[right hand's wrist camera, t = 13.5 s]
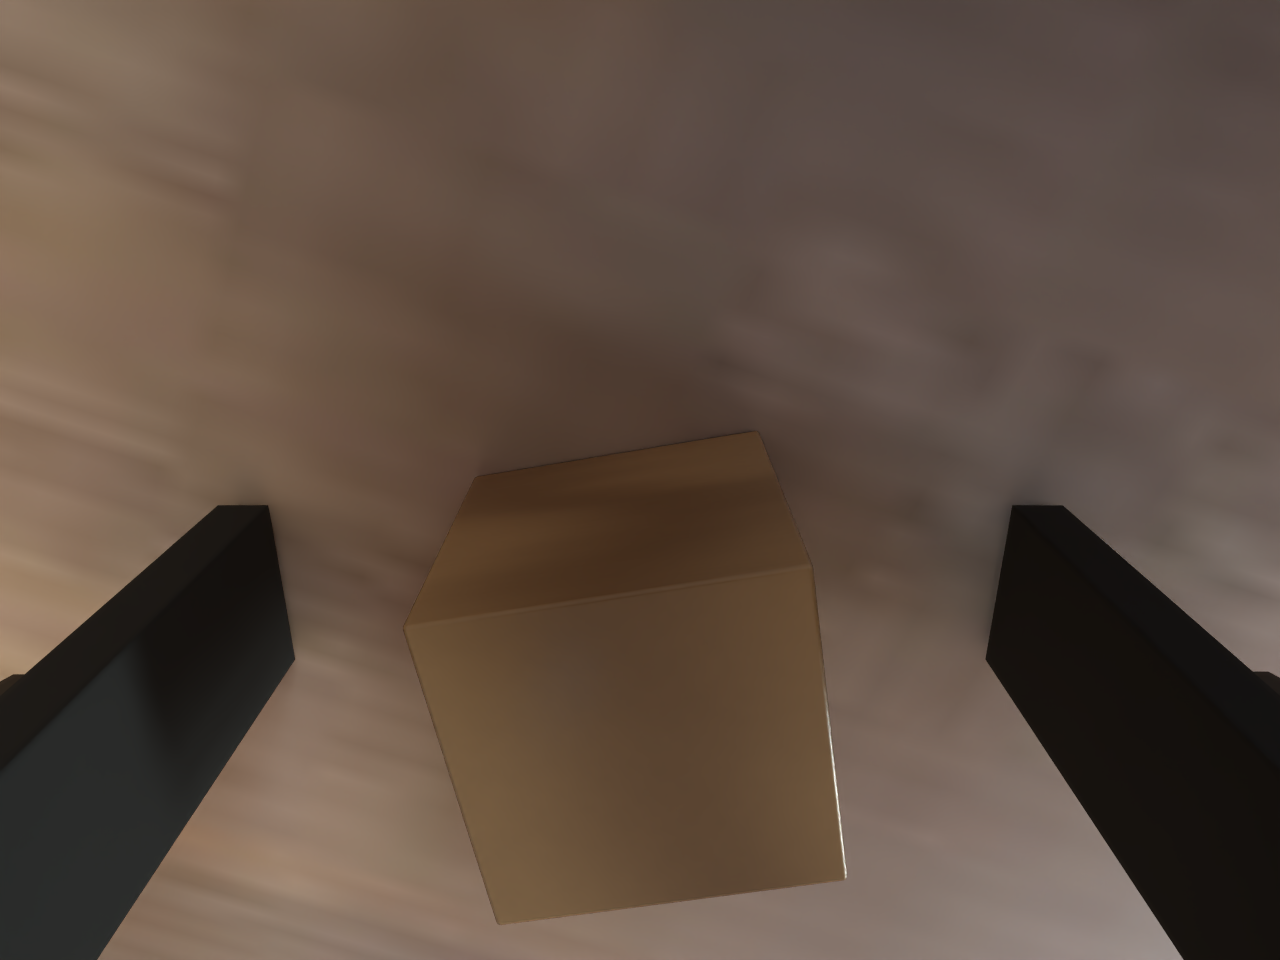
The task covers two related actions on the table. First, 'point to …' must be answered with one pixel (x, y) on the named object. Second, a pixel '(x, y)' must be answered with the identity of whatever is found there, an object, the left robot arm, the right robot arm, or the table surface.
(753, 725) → the block
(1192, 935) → the right robot arm
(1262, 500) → the table surface
